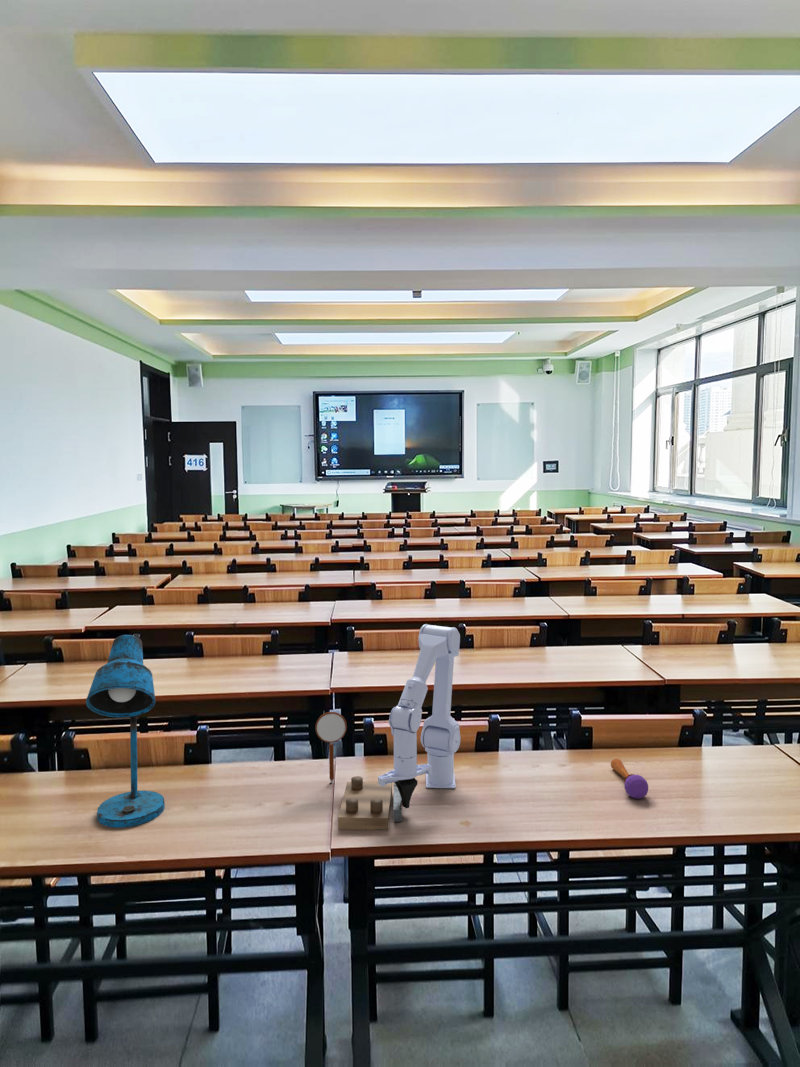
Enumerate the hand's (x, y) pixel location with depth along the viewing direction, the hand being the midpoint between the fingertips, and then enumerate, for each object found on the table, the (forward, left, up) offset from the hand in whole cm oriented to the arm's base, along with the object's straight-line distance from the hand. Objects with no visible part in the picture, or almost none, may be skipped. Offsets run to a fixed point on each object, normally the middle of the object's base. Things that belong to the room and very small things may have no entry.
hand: (405, 806), depth 174 cm
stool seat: (-2, -10, -2) cm, 10 cm away
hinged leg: (-3, -2, -2) cm, 4 cm away
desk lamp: (+3, -69, -2) cm, 69 cm away
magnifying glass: (-17, -21, -2) cm, 27 cm away
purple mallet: (-19, +60, -2) cm, 63 cm away
